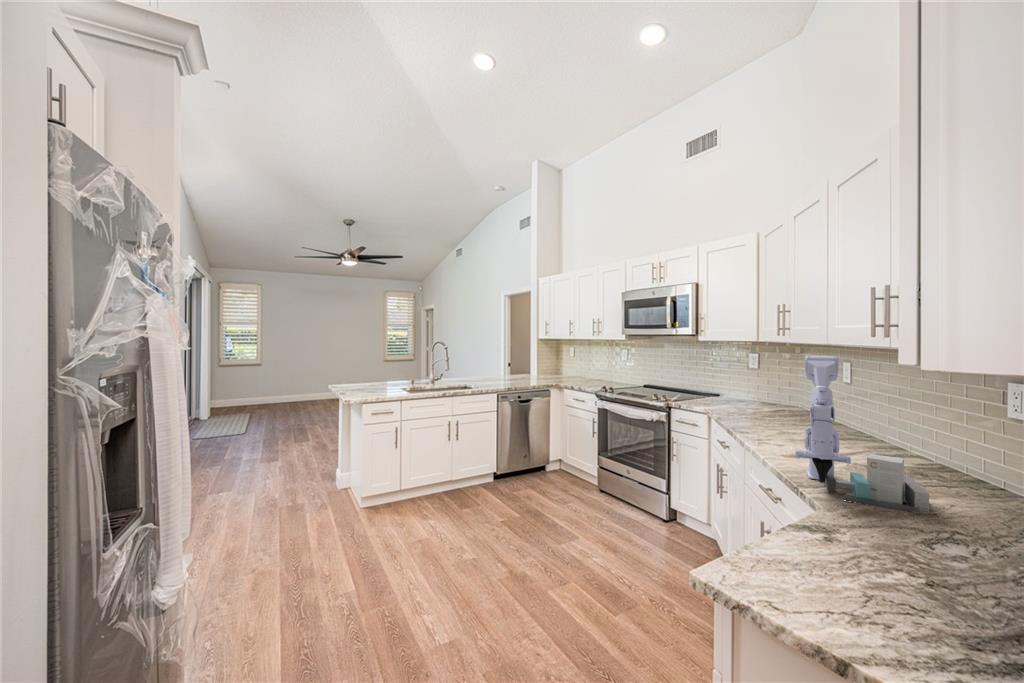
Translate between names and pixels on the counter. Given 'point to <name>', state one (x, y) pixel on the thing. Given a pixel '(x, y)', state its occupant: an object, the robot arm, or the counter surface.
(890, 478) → the small box
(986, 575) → the counter surface
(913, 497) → the vise
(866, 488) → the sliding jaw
